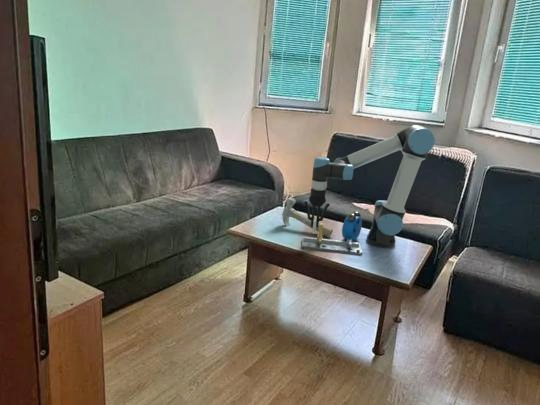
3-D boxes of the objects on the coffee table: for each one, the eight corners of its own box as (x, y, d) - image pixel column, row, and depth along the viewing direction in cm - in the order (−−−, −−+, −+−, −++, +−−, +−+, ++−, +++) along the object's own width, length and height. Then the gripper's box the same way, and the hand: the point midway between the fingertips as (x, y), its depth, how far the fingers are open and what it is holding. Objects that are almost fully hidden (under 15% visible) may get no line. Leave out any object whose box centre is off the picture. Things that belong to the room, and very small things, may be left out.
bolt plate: (359, 246, 230) (360, 243, 229) (362, 255, 219) (362, 251, 219) (302, 240, 232) (302, 237, 231) (301, 248, 221) (301, 244, 221)
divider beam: (358, 245, 229) (359, 239, 228) (359, 250, 221) (360, 245, 221) (304, 239, 230) (304, 233, 230) (303, 244, 223) (304, 239, 222)
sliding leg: (321, 240, 230) (323, 222, 227) (321, 245, 223) (324, 227, 220) (317, 239, 230) (319, 222, 227) (317, 245, 223) (319, 227, 220)
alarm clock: (350, 234, 246) (353, 209, 242) (360, 237, 243) (364, 211, 239) (340, 240, 236) (343, 214, 232) (350, 244, 233) (354, 216, 228)
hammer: (337, 220, 239) (290, 196, 250) (333, 222, 235) (286, 198, 246) (327, 244, 245) (282, 220, 256) (324, 247, 241) (278, 222, 252)
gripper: (331, 187, 224) (326, 231, 230) (305, 185, 225) (301, 229, 231) (332, 191, 217) (326, 236, 223) (305, 189, 218) (300, 234, 224)
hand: (313, 232), depth 227 cm, fingers closed
